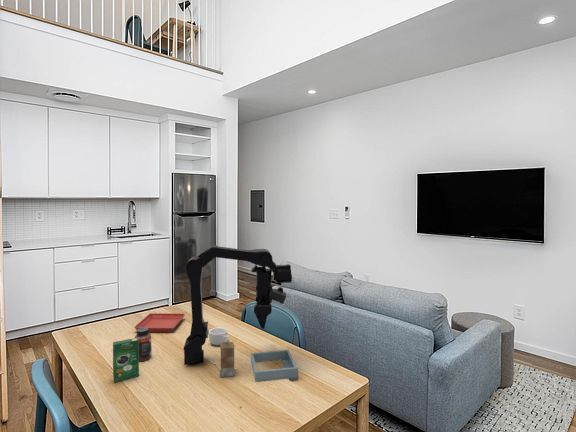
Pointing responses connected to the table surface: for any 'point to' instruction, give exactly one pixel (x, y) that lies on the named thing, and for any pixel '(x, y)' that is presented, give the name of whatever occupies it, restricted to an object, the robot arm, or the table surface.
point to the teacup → (218, 336)
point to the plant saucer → (160, 322)
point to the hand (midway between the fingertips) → (263, 323)
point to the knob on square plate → (228, 376)
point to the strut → (227, 359)
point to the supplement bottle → (144, 344)
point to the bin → (287, 372)
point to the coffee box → (125, 359)
